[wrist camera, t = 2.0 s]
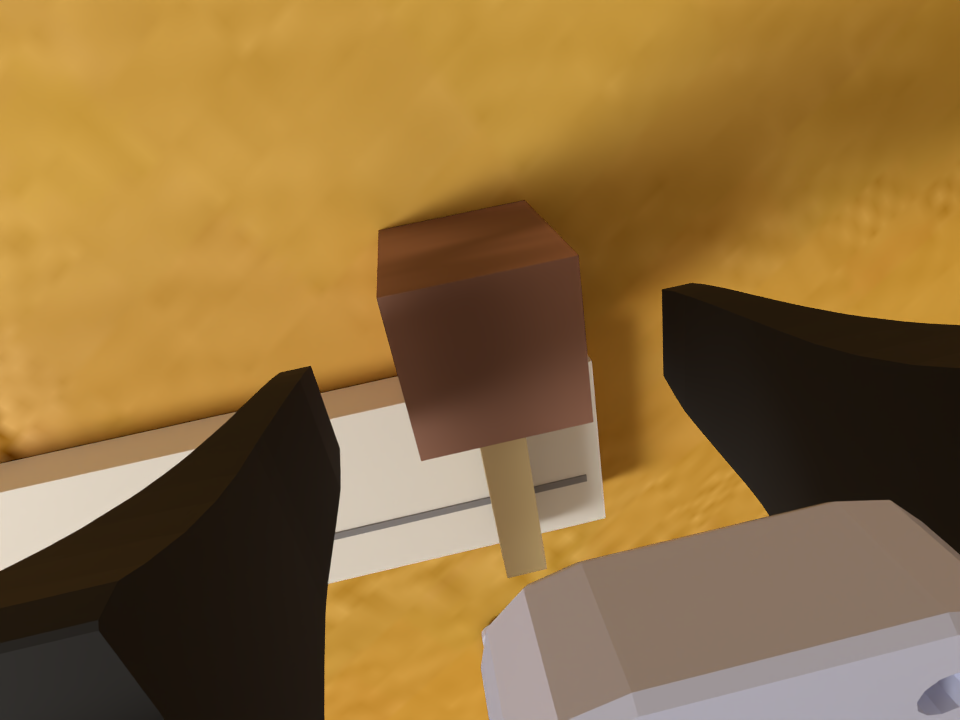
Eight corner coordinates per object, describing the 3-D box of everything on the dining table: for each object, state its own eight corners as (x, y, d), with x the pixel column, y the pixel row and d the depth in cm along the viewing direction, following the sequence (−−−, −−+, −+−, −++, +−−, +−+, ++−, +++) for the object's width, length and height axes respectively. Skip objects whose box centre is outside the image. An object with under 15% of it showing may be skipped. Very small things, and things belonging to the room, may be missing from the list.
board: (575, 337, 18) (592, 362, 16) (590, 486, 21) (606, 519, 19) (-168, 500, 17) (-220, 542, 15) (-44, 634, 20) (-78, 681, 18)
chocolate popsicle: (524, 200, 16) (578, 255, 11) (561, 482, 21) (609, 598, 16) (378, 230, 16) (376, 297, 11) (450, 508, 20) (468, 632, 16)
